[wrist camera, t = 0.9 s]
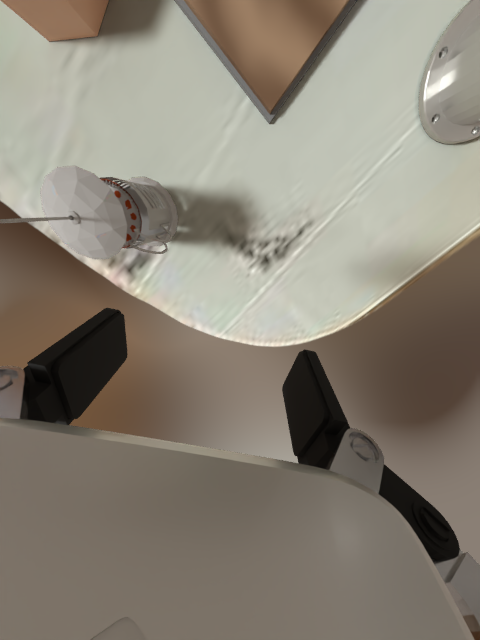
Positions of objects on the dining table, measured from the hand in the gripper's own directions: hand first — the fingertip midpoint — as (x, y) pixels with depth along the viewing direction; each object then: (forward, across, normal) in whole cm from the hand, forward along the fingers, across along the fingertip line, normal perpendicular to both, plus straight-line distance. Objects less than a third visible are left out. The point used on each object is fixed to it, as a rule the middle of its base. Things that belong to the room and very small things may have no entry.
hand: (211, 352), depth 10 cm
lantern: (+27, +14, -2) cm, 31 cm away
